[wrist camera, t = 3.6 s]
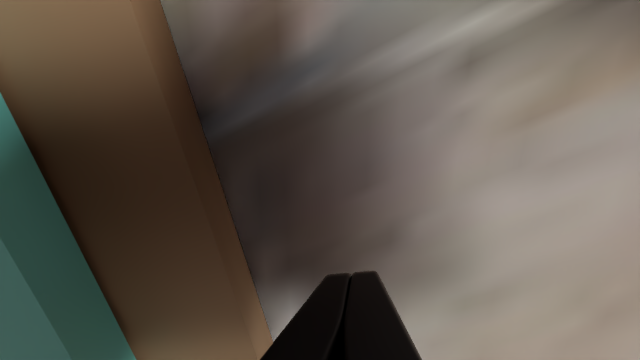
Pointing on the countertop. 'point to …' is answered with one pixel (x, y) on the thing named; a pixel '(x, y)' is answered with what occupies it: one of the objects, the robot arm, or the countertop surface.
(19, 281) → the link
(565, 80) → the countertop surface
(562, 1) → the countertop surface
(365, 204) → the countertop surface
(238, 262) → the board
